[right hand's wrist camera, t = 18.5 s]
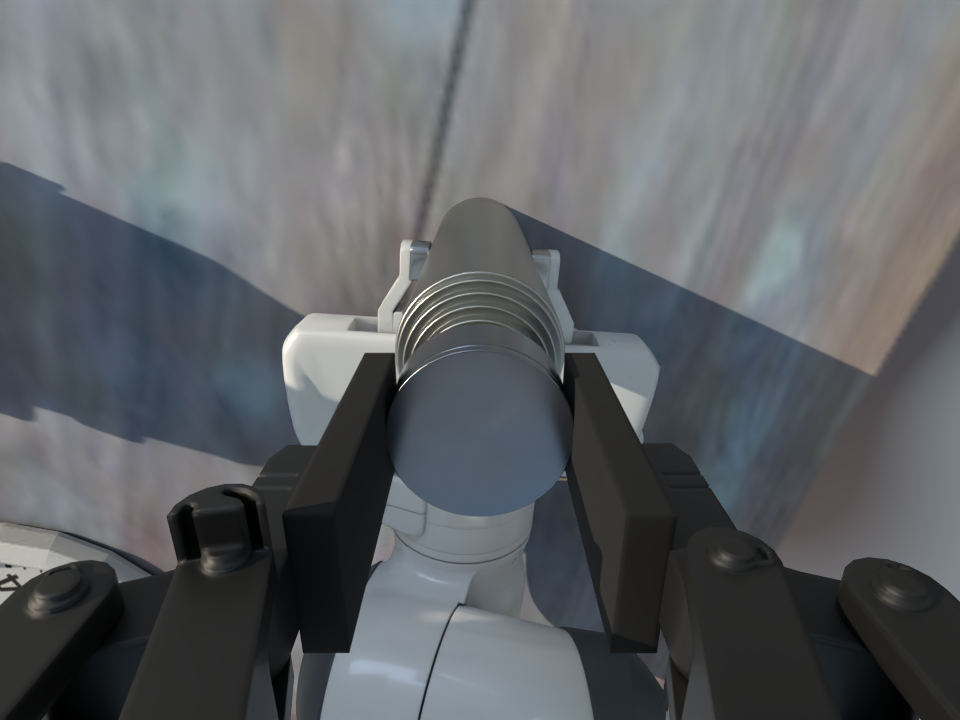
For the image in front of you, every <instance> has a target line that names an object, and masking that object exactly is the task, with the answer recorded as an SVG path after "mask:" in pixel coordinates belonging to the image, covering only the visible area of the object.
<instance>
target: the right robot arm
mask: <svg viewBox="0 0 960 720" xmlns="http://www.w3.org/2000/svg"><path fill="white" fill-rule="evenodd" d="M396 385H397V380H396V363H395V353H364V355H363V357H362V359H361V361H360V363H359V365H358V367H357V369H356V371H355V373H354V375H353V377H352V379H351V381H350V383H349V385H348V387H347V389H346V391H345V393H344V394H343V396H342V398H341V400H340V402H339V404H338V406H337V408H336V410H335V412H334V414H333V416H332V418H331V420H330V422H329V424H328V426H327V428H326V430H325V432H324V434H323V436H322V438H321V439H320V441H319V443H318V445H288V446H286V447H285V448H284V449H282V450H281V451H279V452H278V453H277V454H275V455H274V456H273V457H271V458H270V459H269V460H268V462H267V463H266V465H265V467H264V468H263V470H262V471H261V473H260V477H258V478H257V479H256V481H255V482H254V484H253V485H252V486H248V485H245V484H223V485H219V486H214V487H209V488H206V489H203V490H201V491H199V492H196V493H194V494H191V495H189V496H188V497H186V498H185V499H183V500H182V501H180V502H179V503H177V504H176V505H175V506H174V507H173V509H172V510H171V511H170V512H169V514H168V515H167V520H168V524H169V528H170V532H171V536H172V540H173V544H174V548H175V552H176V556H177V560H178V565H177V567H176V569H175V570H172V571H168V572H165V573H161V574H158V575H153V576H148V577H144V578H139V579H135V580H130V581H126V582H121V583H119V581H118V578H117V575H116V571H115V569H114V568H112V567H111V566H110V565H109V564H108V563H107V562H101V561H96V560H86V561H77V562H71V563H68V564H64V565H61V566H58V567H55V568H52V569H50V570H48V571H46V572H44V573H42V574H40V575H38V576H36V577H34V578H32V579H30V580H29V581H28V582H26V583H25V584H24V585H22V586H21V587H20V588H18V589H17V590H16V591H14V592H13V593H12V594H11V595H10V596H9V597H8V598H7V599H6V600H5V601H4V602H3V603H2V604H1V605H0V720H290V717H291V706H292V695H293V684H294V672H293V666H292V660H291V651H292V648H293V645H294V643H295V640H296V637H297V634H298V632H299V630H300V636H301V642H302V649H303V653H350V649H351V645H352V641H353V637H354V633H355V629H356V625H357V621H358V616H359V612H360V608H361V604H362V600H363V596H364V592H365V588H366V584H367V580H368V576H369V572H370V568H371V564H372V560H373V556H374V552H375V548H376V544H377V540H378V536H379V532H380V528H381V524H382V520H383V516H384V512H385V508H386V504H387V499H388V495H389V491H390V487H391V483H392V479H393V475H394V471H395V470H394V468H393V466H392V463H391V461H390V459H389V456H388V450H387V437H386V417H387V413H388V410H389V407H390V404H391V401H392V398H393V395H394V391H395V388H396ZM563 386H564V389H565V392H566V395H567V399H568V402H569V405H570V408H571V411H572V414H573V419H574V430H573V445H572V454H571V458H570V460H569V463H568V465H567V467H566V469H565V473H566V477H567V481H568V485H569V489H570V493H571V497H572V501H573V505H574V509H575V513H576V517H577V521H578V525H579V529H580V533H581V537H582V541H583V545H584V549H585V553H586V557H587V562H588V566H589V570H590V574H591V578H592V582H593V586H594V590H595V594H596V598H597V602H598V606H599V610H600V614H601V618H602V622H603V626H604V630H605V634H606V638H607V642H608V646H609V650H610V653H657V646H658V640H659V634H660V627H661V630H662V633H663V635H664V638H665V641H666V644H667V646H668V649H669V652H670V654H669V660H668V666H667V672H666V678H665V684H664V690H663V696H662V702H661V708H660V711H666V712H668V706H669V716H670V720H919V718H920V719H921V720H960V602H959V601H958V600H957V599H956V598H955V597H954V596H953V595H952V594H951V593H950V592H949V591H948V590H947V589H945V588H944V587H943V586H941V585H940V584H939V583H938V582H936V581H935V580H934V579H932V578H931V577H930V576H928V575H926V574H924V573H922V572H920V571H918V570H916V569H914V568H912V567H910V566H907V565H904V564H901V563H897V562H894V561H891V560H888V559H879V558H870V557H868V558H863V559H857V560H853V561H852V562H851V563H850V564H848V565H847V566H846V567H845V570H844V573H843V576H842V580H841V581H840V580H836V579H831V578H827V577H822V576H818V575H813V574H808V573H804V572H800V571H796V570H793V569H789V568H786V567H784V566H783V564H782V562H781V560H780V559H779V557H778V556H777V554H776V553H775V551H774V550H773V549H772V548H770V547H769V546H768V545H767V544H765V543H764V542H763V541H762V540H760V539H758V538H756V537H754V536H752V535H749V534H747V533H745V532H742V531H738V530H737V529H736V527H735V526H734V524H733V523H732V521H731V520H730V518H729V516H728V515H727V513H726V512H725V510H724V509H723V507H722V506H721V504H720V502H719V501H718V499H717V498H716V496H715V495H714V493H713V491H712V490H711V488H709V487H708V484H707V482H706V481H705V479H704V477H703V476H702V475H700V471H699V470H698V468H697V466H696V465H695V463H694V462H693V460H692V459H691V457H690V456H688V455H687V454H686V453H684V452H683V451H681V450H680V449H679V448H677V447H676V446H675V445H673V444H641V442H640V440H639V438H638V436H637V434H636V432H635V430H634V429H633V427H632V425H631V423H630V421H629V419H628V417H627V415H626V413H625V411H624V409H623V407H622V405H621V403H620V401H619V399H618V397H617V395H616V393H615V391H614V389H613V387H612V385H611V384H610V382H609V380H608V378H607V376H606V374H605V372H604V370H603V368H602V366H601V364H600V362H599V360H598V358H597V356H596V354H595V353H565V356H564V373H563Z"/></svg>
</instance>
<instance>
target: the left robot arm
mask: <svg viewBox="0 0 960 720" xmlns="http://www.w3.org/2000/svg"><path fill="white" fill-rule="evenodd" d="M431 246H432V245H431V242H428V241H417V240H403V242H402V243H401V250H400V275H399V276H398V278H397V280H396V281H395V283H394V284H393V286H392V288H391V289H390V291H389V293H388V294H387V296H386V297H385V299H384V301H383V302H382V304H381V306H380V308H379V309H378V317H368V316H352V315H337V314H322V313H312V314H309V315H308V316H306V317H305V318H304V319H303V320H302V321H301V322H299V323H298V324H297V325H296V326H295V327H294V328H293V330H292V331H291V332H290V333H289V335H288V336H287V338H286V339H285V342H284V344H283V350H282V358H283V372H284V380H285V388H286V394H287V400H288V405H289V410H290V414H291V419H292V423H293V427H294V430H295V433H296V435H297V438H298V440H299V441H300V443H301V445H318V443H319V441H320V439H321V438H322V436H323V434H324V432H325V430H326V428H327V426H328V424H329V422H330V420H331V418H332V416H333V414H334V412H335V410H336V408H337V406H338V404H339V402H340V400H341V398H342V396H343V394H344V393H345V391H346V389H347V387H348V385H349V383H350V381H351V379H352V377H353V375H354V373H355V371H356V369H357V367H358V365H359V363H360V361H361V359H362V357H363V355H364V353H395V342H396V335H397V331H398V327H399V324H400V322H401V319H402V317H403V314H404V312H405V310H406V307H407V305H408V302H407V301H400V299H401V298H402V296H403V295H404V293H405V291H406V290H407V288H408V287H409V285H410V283H411V282H412V280H418V278H419V275H420V273H421V271H422V268H423V266H424V263H425V261H426V258H427V256H428V254H429V251H430V249H431ZM530 252H531V254H532V257H533V259H534V261H535V264H536V266H537V269H538V271H539V274H540V276H541V278H542V281H543V283H544V286H545V288H546V291H547V293H548V295H549V298H550V300H551V303H552V305H553V308H554V310H555V312H556V315H557V317H558V320H559V322H560V325H561V328H562V331H563V337H564V345H565V353H595V354H596V356H597V358H598V360H599V362H600V364H601V366H602V368H603V370H604V372H605V374H606V376H607V378H608V380H609V382H610V384H611V385H612V387H613V389H614V391H615V393H616V395H617V397H618V399H619V401H620V403H621V405H622V407H623V409H624V411H625V413H626V415H627V417H628V419H629V421H630V423H631V425H632V427H633V429H634V430H635V432H636V434H637V436H638V438H639V440H640V442H641V444H643V441H644V431H643V426H644V424H645V421H646V418H647V415H648V413H649V410H650V407H651V404H652V400H653V397H654V394H655V390H656V386H657V382H658V378H659V372H660V371H659V365H658V362H657V360H656V358H655V356H654V355H653V353H652V351H651V350H650V349H649V347H648V346H647V345H646V344H645V343H644V342H643V341H642V340H641V338H640V337H638V336H637V335H635V334H631V333H616V332H601V331H585V330H573V328H574V322H573V320H572V317H571V315H570V313H569V311H568V308H567V306H566V304H565V302H564V299H563V297H562V295H561V293H560V290H559V288H558V286H557V285H558V277H559V269H560V253H559V252H558V250H550V249H533V248H530ZM399 301H400V302H399ZM564 356H565V355H564ZM395 363H396V359H395ZM563 373H564V363H563V368H562V372H561V375H560V377H561V380H562V383H563ZM398 379H399V373H398V369H397V365H396V380H397V382H398ZM558 481H567V477H566V473H565V471H564V472H563V474H562V475H561V477H560V479H559V480H558ZM534 506H535V501H534V502H533V503H531V504H529V505H527V506H525V507H523V508H520V509H518V510H515V511H513V512H509V513H505V514H501V515H495V516H483V517H476V516H465V515H459V514H454V513H451V512H447V511H444V510H442V509H439V508H437V507H434V506H433V505H431V504H429V503H427V502H425V501H424V500H422V499H421V498H420V497H418V496H417V495H415V494H414V493H413V492H412V491H411V490H410V489H409V488H408V487H407V486H406V485H405V484H404V483H403V481H402V480H401V479H400V478H399V476H398V474H397V473H396V471H394V475H393V479H392V483H391V487H390V491H389V495H388V499H387V504H386V508H385V512H384V516H383V520H382V524H384V525H386V526H389V527H391V528H393V531H394V536H395V545H394V549H393V552H392V555H391V557H390V559H389V560H387V561H385V562H383V561H379V562H378V563H376V564H374V565H373V566H371V568H370V572H369V576H368V580H367V584H366V588H365V592H364V596H363V600H362V604H361V608H360V612H359V616H358V621H357V625H356V629H355V633H354V637H353V641H352V645H351V649H350V653H304V655H303V659H302V663H301V668H300V673H299V679H298V686H297V697H296V715H297V720H670V719H669V714H668V712H666V711H660V708H661V702H662V696H663V689H662V688H661V686H660V685H659V683H658V681H657V680H656V678H655V677H654V676H653V674H652V673H651V671H650V670H649V669H648V667H647V666H646V665H645V663H644V662H643V661H642V660H641V659H640V657H639V656H638V655H637V654H636V653H610V650H609V646H608V642H607V638H606V634H605V633H602V632H595V631H589V630H582V629H576V628H569V627H560V628H555V627H551V626H547V625H543V624H539V623H535V622H531V621H526V620H522V619H519V617H520V612H521V606H522V600H523V594H524V586H525V567H524V563H523V559H522V553H523V550H524V548H525V547H526V544H527V542H528V540H529V537H530V534H531V529H532V522H533V514H534Z"/></svg>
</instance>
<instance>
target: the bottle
mask: <svg viewBox="0 0 960 720" xmlns="http://www.w3.org/2000/svg"><path fill="white" fill-rule="evenodd" d="M468 324H492V325H497V326H502V327H506V328H509V329H512V330H515V331H517V332H519V333H521V334H523V335H525V336H526V337H528V338H530V339H531V340H533V341H534V342H535V343H536V344H538V345H539V346H540V347H541V348H542V349H543V350H544V351H545V352H546V353H547V354H548V355H549V357H550V358H551V360H552V361H553V363H554V364H555V366H556V368H557V370H558V372H559V374H560V375H561V372H562V368H563V363H564V355H565V345H564V337H563V331H562V328H561V325H560V322H559V320H558V317H557V315H556V312H555V310H554V308H553V305H552V303H551V300H550V298H549V295H548V293H547V291H546V288H545V286H544V283H543V281H542V278H541V276H540V274H539V271H538V269H537V266H536V264H535V261H534V259H533V257H532V254H531V252H530V249H529V247H528V244H527V242H526V239H525V237H524V235H523V232H522V230H521V227H520V225H519V223H518V221H517V219H516V217H515V216H514V214H513V213H512V212H511V211H510V210H509V209H508V208H507V207H505V206H504V205H502V204H501V203H499V202H497V201H494V200H491V199H486V198H473V199H468V200H465V201H463V202H461V203H459V204H457V205H456V206H454V207H453V208H452V209H451V210H450V211H449V212H448V213H447V214H446V215H445V217H444V218H443V220H442V222H441V224H440V227H439V229H438V232H437V234H436V236H435V239H434V241H433V244H432V246H431V249H430V251H429V254H428V256H427V258H426V261H425V263H424V266H423V268H422V271H421V273H420V275H419V278H418V280H417V283H416V285H415V288H414V290H413V293H412V295H411V297H410V300H409V302H408V305H407V307H406V310H405V312H404V314H403V317H402V319H401V322H400V324H399V327H398V331H397V335H396V342H395V359H396V365H397V369H398V373H399V376H400V373H401V371H402V369H403V367H404V365H405V364H406V362H407V361H408V359H409V358H410V356H411V355H412V354H413V353H414V352H415V351H416V349H417V348H418V347H420V346H421V345H422V344H423V343H424V342H426V341H427V340H428V339H430V338H432V337H433V336H435V335H437V334H439V333H441V332H443V331H445V330H448V329H451V328H454V327H457V326H463V325H468Z"/></svg>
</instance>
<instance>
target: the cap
mask: <svg viewBox="0 0 960 720" xmlns="http://www.w3.org/2000/svg"><path fill="white" fill-rule="evenodd" d="M573 430H574V419H573V414H572V411H571V408H570V405H569V402H568V399H567V395H566V392H565V389H564V386H563V383H562V380H561V377H560V374H559V372H558V370H557V368H556V366H555V364H554V363H553V361H552V360H551V358H550V357H549V355H548V354H547V353H546V352H545V351H544V350H543V349H542V348H541V347H540V346H539V345H538V344H536V343H535V342H534V341H533V340H531V339H530V338H528V337H526V336H525V335H523V334H521V333H519V332H517V331H515V330H512V329H509V328H506V327H502V326H497V325H492V324H468V325H463V326H457V327H454V328H451V329H448V330H445V331H443V332H441V333H439V334H437V335H435V336H433V337H432V338H430V339H428V340H427V341H426V342H424V343H423V344H422V345H421V346H420V347H418V348H417V349H416V351H415V352H414V353H413V354H412V355H411V356H410V358H409V359H408V361H407V362H406V364H405V365H404V367H403V369H402V371H401V373H400V376H399V379H398V382H397V385H396V388H395V391H394V395H393V398H392V401H391V404H390V407H389V410H388V413H387V417H386V437H387V450H388V456H389V459H390V461H391V463H392V466H393V468H394V470H395V471H396V473H397V474H398V476H399V478H400V479H401V480H402V481H403V483H404V484H405V485H406V486H407V487H408V488H409V489H410V490H411V491H412V492H413V493H414V494H415V495H417V496H418V497H420V498H421V499H422V500H424V501H425V502H427V503H429V504H431V505H433V506H434V507H437V508H439V509H442V510H444V511H447V512H451V513H454V514H459V515H465V516H476V517H483V516H495V515H501V514H505V513H509V512H513V511H515V510H518V509H520V508H523V507H525V506H527V505H529V504H531V503H533V502H534V501H536V500H537V499H539V498H540V497H541V496H543V495H544V494H545V493H546V492H547V491H549V490H550V489H551V488H552V487H553V486H554V484H555V483H556V482H557V481H558V480H559V479H560V477H561V475H562V474H563V472H564V471H565V469H566V467H567V465H568V463H569V460H570V458H571V454H572V445H573Z"/></svg>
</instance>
